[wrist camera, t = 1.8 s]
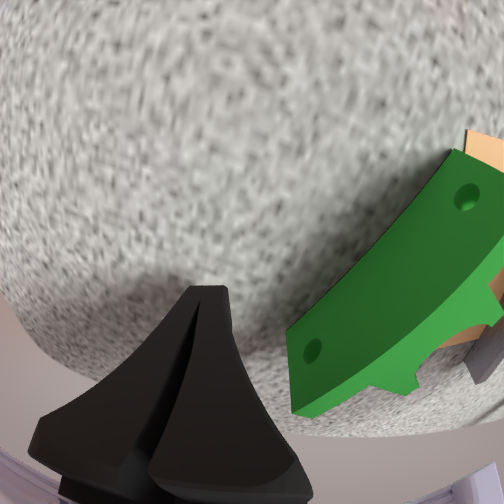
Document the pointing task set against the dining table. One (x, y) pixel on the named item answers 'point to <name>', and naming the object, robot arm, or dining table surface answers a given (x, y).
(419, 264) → the pipe clamp
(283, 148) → the dining table surface
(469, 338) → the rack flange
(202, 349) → the robot arm
